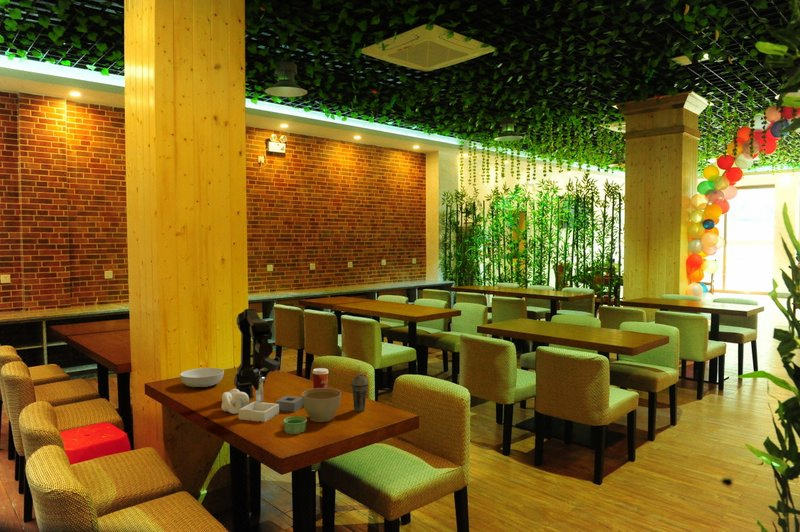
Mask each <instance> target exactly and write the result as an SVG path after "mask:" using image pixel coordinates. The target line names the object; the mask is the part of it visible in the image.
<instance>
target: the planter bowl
mask: <svg viewBox="0 0 800 532" xmlns="http://www.w3.org/2000/svg"><path fill="white" fill-rule="evenodd" d="M301 397H302V398H303V408H304V411H305V412H306V414H307V416H308V417H309V420H310V421H312V422H314V423H326V422H330V421H332V420H333V419H334V416H335V414H336V413H337V411H338V409H339V407H340V404H341V397H342V392H341V391H340V390H338V389H335V388H328V387H327V388H315V389H314V388H311V389H307V390H305V391H303V392H302V393H301Z"/></svg>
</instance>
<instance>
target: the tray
mask: <svg viewBox="0 0 800 532" xmlns="http://www.w3.org/2000/svg"><path fill="white" fill-rule="evenodd" d="M279 414H280V411H279V404H276V403H272V402H271V403H270V402H264V401H263V402H262V403H256V401H252V402H249V403H248V405H246V406H245V407H243V408H241V409H239V413H238V420H241V421H242V420H243V421H244V420H245V421H250V420H251V422H259V421H261V422H260V423H266V422H268V421H269V420H271V419H273V418H274V417H275V415H276V416H278V415H279ZM267 420H268V421H267Z"/></svg>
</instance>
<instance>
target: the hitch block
mask: <svg viewBox="0 0 800 532" xmlns="http://www.w3.org/2000/svg"><path fill="white" fill-rule="evenodd" d="M275 404H279V410H282V411H281V412H288V411H291V412H290V413H296V412H298V411H299V410H300V409H302V408H304V406H303V398H302V396H292V395H284V396H282V397H281V398H278V399H277V400H275ZM301 407H302V408H301ZM298 409H299V410H298ZM295 411H296V412H295Z"/></svg>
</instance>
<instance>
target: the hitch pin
mask: <svg viewBox="0 0 800 532" xmlns="http://www.w3.org/2000/svg"><path fill="white" fill-rule="evenodd" d="M264 380H265V376H261V377H260V379H259V387H258V390H255V402H256V403H262V402H263V403H264V387H263V381H264Z"/></svg>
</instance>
